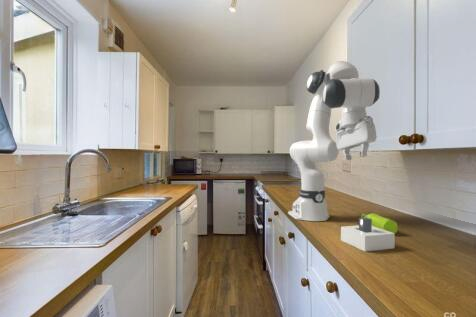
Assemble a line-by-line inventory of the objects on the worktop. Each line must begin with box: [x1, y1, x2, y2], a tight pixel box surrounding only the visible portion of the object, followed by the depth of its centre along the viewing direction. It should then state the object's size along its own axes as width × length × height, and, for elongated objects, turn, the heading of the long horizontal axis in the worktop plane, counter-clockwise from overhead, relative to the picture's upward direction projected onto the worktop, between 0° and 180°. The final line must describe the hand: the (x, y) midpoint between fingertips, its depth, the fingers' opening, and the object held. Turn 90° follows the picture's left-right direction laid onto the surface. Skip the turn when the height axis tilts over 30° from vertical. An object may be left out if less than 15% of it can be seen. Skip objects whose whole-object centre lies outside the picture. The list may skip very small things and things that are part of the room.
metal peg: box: [358, 217, 372, 233], centre depth 93 cm, size 4×4×9 cm
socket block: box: [340, 224, 396, 252], centre depth 94 cm, size 12×12×5 cm
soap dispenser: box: [360, 212, 399, 234], centre depth 115 cm, size 6×7×20 cm
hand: (355, 158), depth 99 cm, fingers open, 8 cm apart
